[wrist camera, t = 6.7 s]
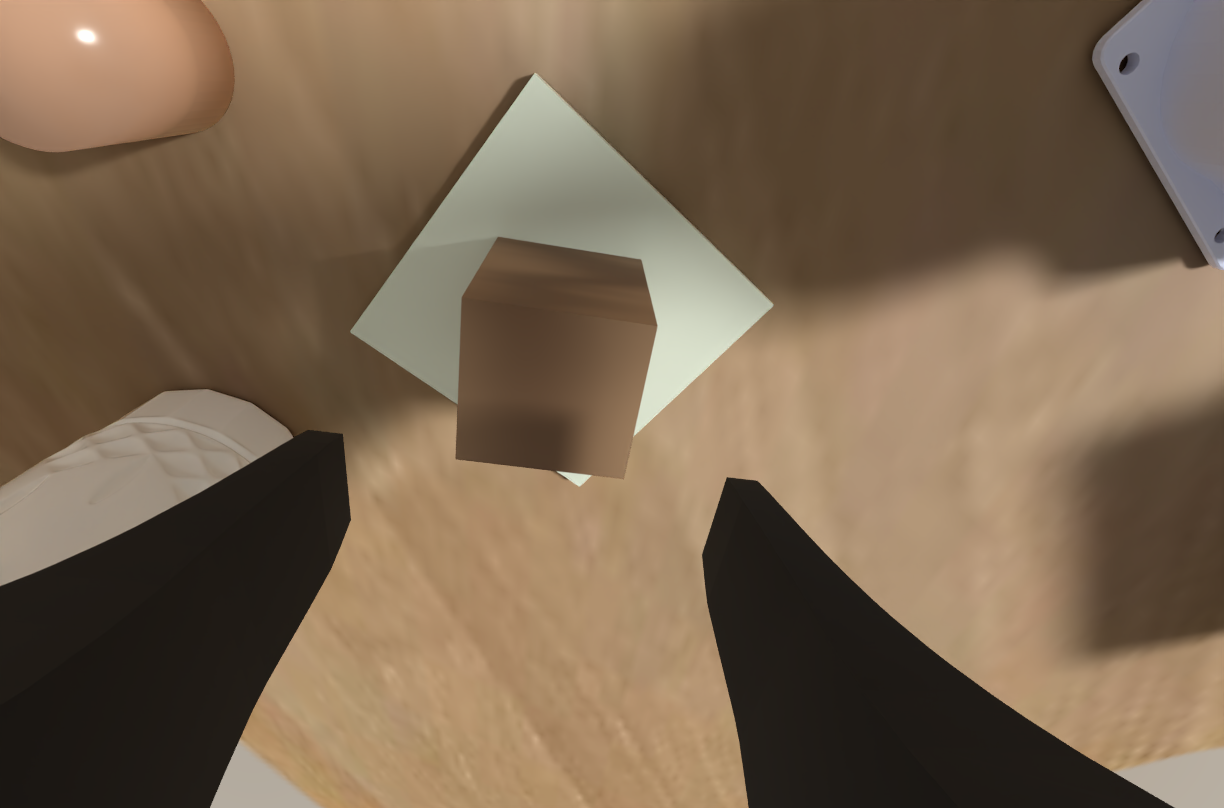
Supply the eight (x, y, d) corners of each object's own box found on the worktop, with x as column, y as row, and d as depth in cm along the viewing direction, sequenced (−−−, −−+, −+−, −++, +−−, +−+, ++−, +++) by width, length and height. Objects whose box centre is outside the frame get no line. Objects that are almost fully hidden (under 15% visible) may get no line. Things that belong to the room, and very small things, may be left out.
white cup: (143, 331, 19) (-220, 537, 11) (361, 441, 22) (207, 681, 13) (90, 481, 23) (-224, 735, 14) (287, 563, 25) (123, 822, 16)
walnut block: (641, 259, 18) (657, 326, 13) (617, 383, 20) (623, 479, 15) (497, 236, 18) (461, 297, 13) (489, 366, 20) (455, 459, 15)
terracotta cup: (259, 45, 15) (146, 35, 12) (200, 164, 17) (81, 191, 13) (103, -82, 14) (-84, -141, 10) (53, 59, 16) (-129, 54, 12)
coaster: (769, 299, 19) (773, 305, 19) (579, 477, 23) (579, 486, 22) (536, 73, 16) (534, 72, 15) (356, 324, 19) (349, 332, 19)
